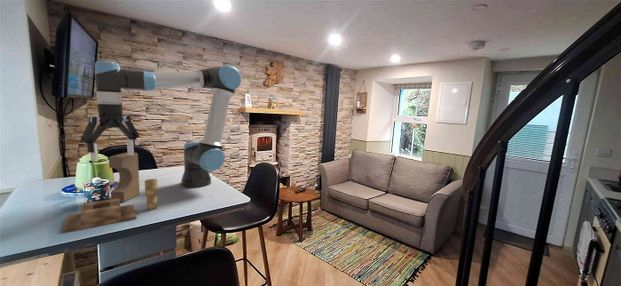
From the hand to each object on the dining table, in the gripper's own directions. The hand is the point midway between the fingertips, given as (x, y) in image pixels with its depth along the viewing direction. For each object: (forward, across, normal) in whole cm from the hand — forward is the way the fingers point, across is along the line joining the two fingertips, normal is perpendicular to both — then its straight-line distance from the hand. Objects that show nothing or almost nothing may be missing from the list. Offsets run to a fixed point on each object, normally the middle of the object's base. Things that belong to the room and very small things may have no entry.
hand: (113, 157), depth 101 cm
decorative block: (+21, -10, -9) cm, 25 cm away
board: (+21, +8, +4) cm, 23 cm away
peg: (+21, -6, +12) cm, 25 cm away
